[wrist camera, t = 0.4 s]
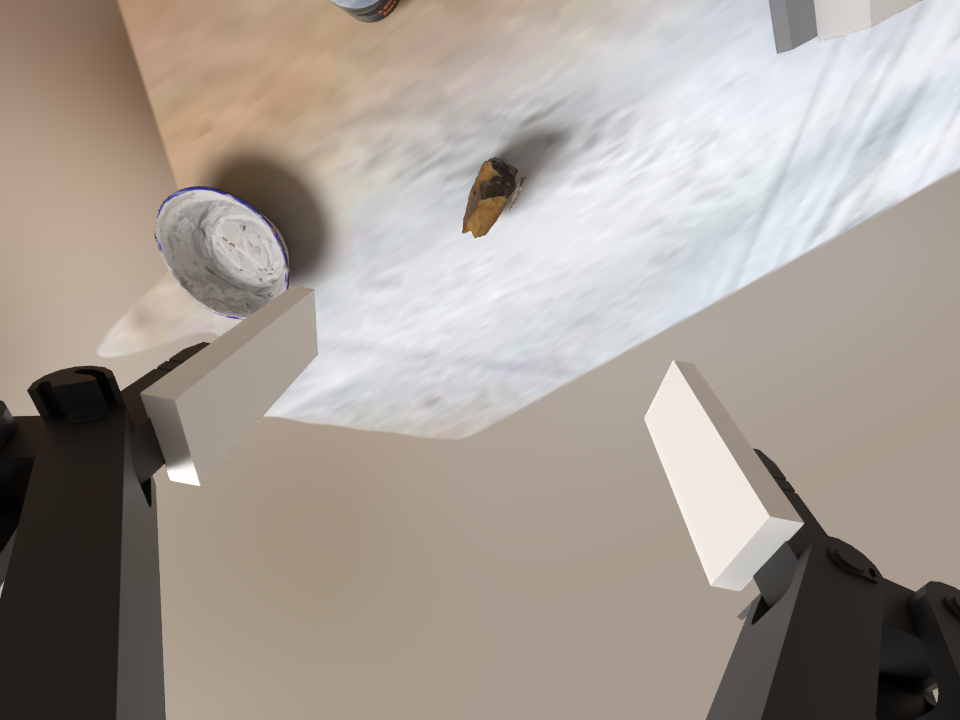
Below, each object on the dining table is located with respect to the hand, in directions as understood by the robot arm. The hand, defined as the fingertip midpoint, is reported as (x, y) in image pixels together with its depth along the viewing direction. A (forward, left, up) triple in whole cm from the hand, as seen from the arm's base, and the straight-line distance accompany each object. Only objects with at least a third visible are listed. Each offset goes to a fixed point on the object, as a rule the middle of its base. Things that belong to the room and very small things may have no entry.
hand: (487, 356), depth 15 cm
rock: (-3, -1, -27) cm, 28 cm away
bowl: (+5, -27, -27) cm, 39 cm away
